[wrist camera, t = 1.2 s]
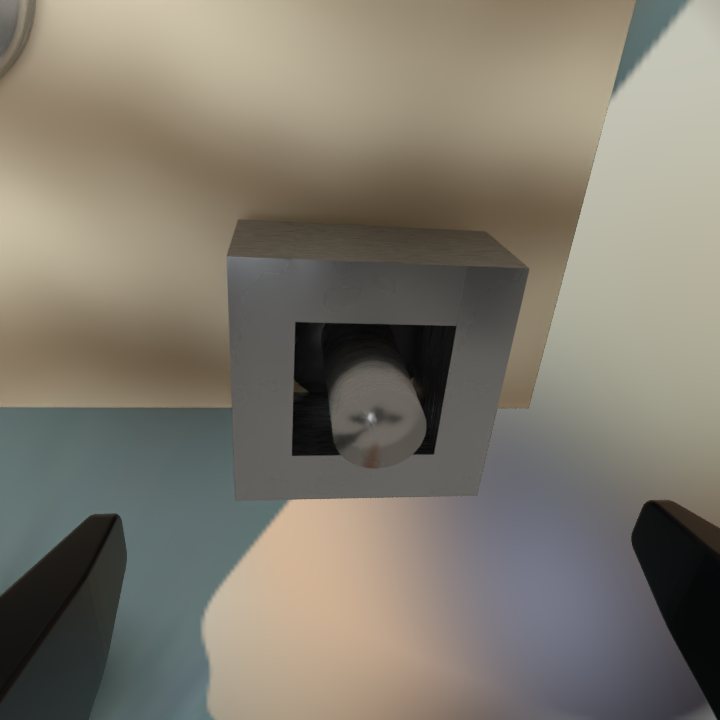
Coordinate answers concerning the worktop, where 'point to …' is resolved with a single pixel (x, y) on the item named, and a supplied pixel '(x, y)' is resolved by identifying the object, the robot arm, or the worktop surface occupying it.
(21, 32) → the hub
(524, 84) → the board
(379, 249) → the grey square frame
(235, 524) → the worktop surface
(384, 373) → the stand
